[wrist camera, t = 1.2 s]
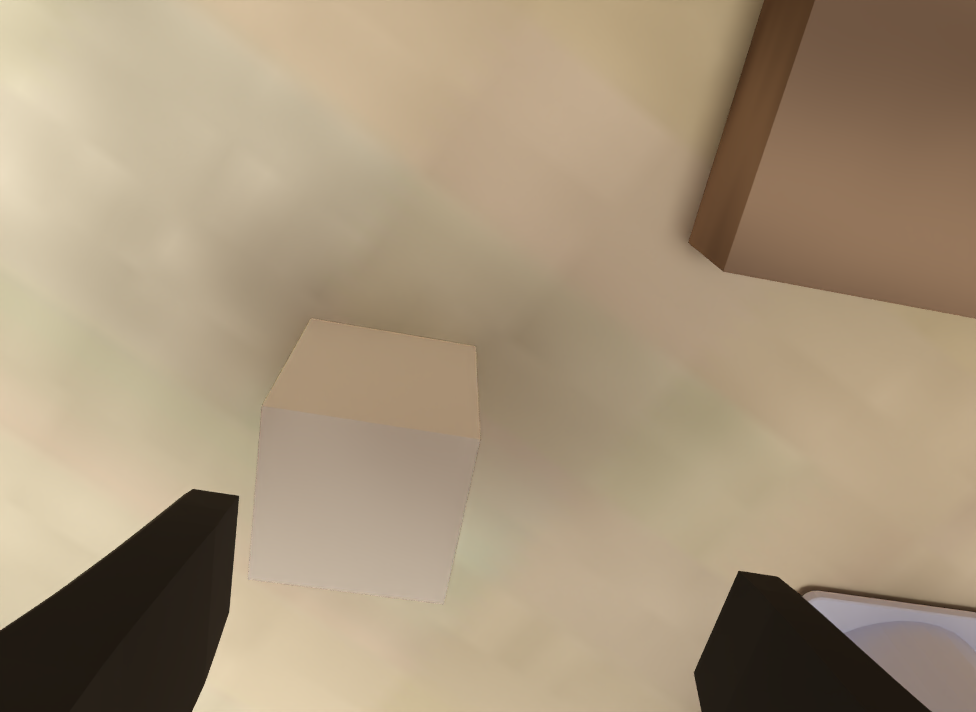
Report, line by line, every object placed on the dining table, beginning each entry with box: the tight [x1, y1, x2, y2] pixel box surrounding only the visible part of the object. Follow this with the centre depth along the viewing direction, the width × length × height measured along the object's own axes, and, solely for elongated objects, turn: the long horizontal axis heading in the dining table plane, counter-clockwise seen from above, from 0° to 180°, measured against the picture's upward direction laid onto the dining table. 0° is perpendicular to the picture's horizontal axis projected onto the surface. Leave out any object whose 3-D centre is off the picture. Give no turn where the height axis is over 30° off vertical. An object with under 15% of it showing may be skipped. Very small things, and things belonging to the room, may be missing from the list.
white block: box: [248, 318, 481, 604], centre depth 17 cm, size 4×4×5 cm
